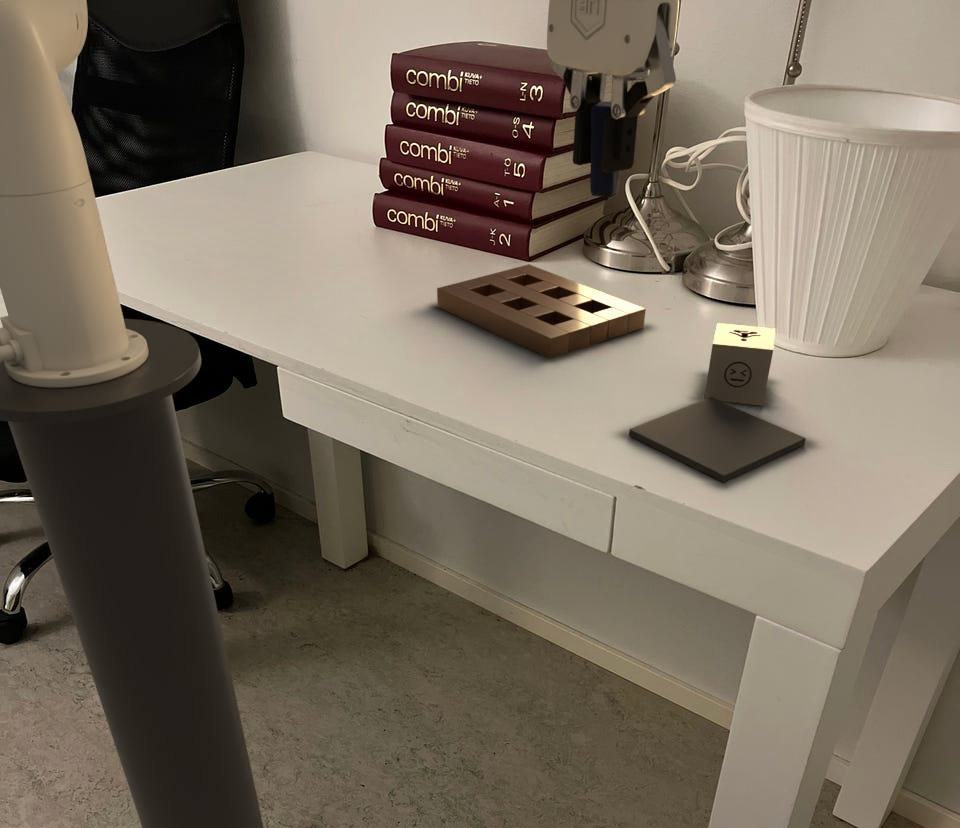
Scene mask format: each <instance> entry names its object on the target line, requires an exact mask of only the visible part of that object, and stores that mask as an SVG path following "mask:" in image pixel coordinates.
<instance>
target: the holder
mask: <svg viewBox="0 0 960 828" xmlns="http://www.w3.org/2000/svg"><path fill="white" fill-rule="evenodd" d="M436 294H437V295H436V299H437V300H436V301H437V304H436V305H437V307H438V308H439V309H442V310H443V311H446V312H447V313H450V314H453V316H457V317H459V318H461V319H463V320H465V321H467V322H470V323H472V324H474V325H475V326H478V327H480V328H483V329H484V330H487V331H489V332H491V333H493V334H496V335H498V336H499V337H502V338H504V339H506V340H509V341H510V342H513V343H515V344H517V345H519V346H522V347H523V348H525V349H527V350H530V351H532V352H535V353H537V354H539V355H541V356H543V357H545V358H548V359H553V358H556V357H560V356H562V355H565V354H568V353H571V352H574V351H578V350H581V349H584V348H587V347H590V346H593V345H595V344H600V343H601V342H604V341H607V340H611V339H614V338H617V337H620V336H623V335H626V334H629V333H632V332H636V331H638V330H641V329H644V328H645V319H646V308H645V307H643V306H640V305H638V304H634V303H632V302H630V301H627V300H624V299H622V298H618V297H616V296H614V295H611V294H608V293H605V292H604V291H601V290H597V289H595V288H592V287H590V286H587V285H585V284H582V283H580V282H577V281H574V280H571V279H569V278H566V277H564V276H561V275H558V274H556V273H553V272H551V271H548V270H545V269H542V268H541V267H537V266H534V265H532V264H525V265H521V266H518V267H513V268H509V269H505V270H501V271H498V272H494V273H490V274H486V275H483V276H479V277H476V278H471V279H467V280H463V281H460V282H456V283H451V284H448V285H444V286H440V287H437V288H436Z"/></svg>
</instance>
